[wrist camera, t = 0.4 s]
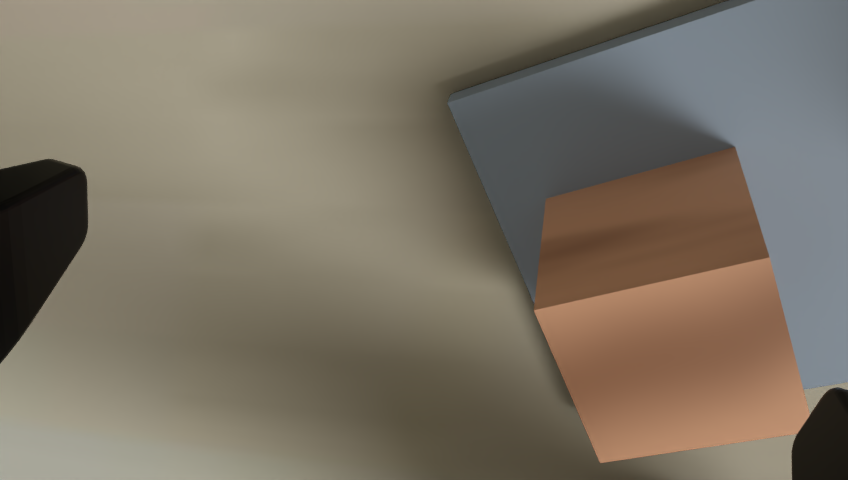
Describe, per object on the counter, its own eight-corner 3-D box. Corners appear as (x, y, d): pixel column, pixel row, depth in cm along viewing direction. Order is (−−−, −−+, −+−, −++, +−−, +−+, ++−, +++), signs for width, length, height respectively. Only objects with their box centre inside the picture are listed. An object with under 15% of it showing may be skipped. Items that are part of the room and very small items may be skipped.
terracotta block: (775, 300, 23) (813, 430, 19) (600, 336, 24) (599, 463, 20) (735, 146, 20) (769, 256, 16) (545, 198, 22) (533, 310, 18)
